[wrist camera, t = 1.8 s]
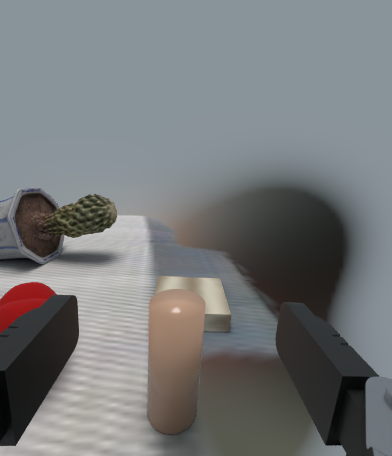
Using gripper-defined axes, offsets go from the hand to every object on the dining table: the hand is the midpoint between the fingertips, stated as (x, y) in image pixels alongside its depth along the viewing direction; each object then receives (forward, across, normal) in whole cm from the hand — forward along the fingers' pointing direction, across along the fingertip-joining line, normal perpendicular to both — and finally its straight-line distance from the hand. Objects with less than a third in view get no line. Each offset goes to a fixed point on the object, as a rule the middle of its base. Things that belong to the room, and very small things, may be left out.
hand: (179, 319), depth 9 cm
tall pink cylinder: (+11, 0, +18) cm, 21 cm away
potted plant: (+48, +31, +18) cm, 60 cm away
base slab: (+29, -2, +18) cm, 34 cm away
